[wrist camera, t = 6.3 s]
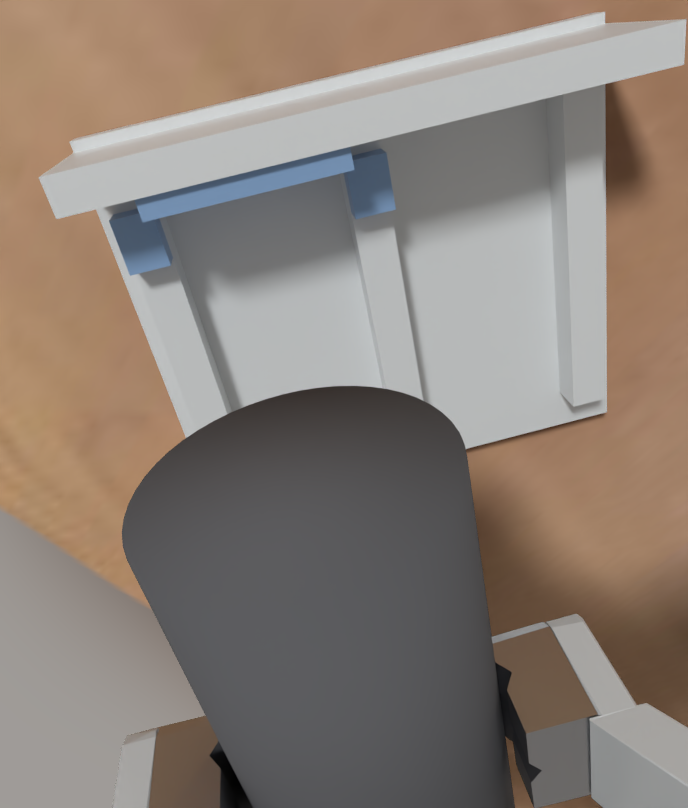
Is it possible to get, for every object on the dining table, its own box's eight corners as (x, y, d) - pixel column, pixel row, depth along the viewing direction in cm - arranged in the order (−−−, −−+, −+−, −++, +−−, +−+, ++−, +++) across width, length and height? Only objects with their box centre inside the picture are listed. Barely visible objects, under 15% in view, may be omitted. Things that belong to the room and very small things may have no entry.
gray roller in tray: (481, 734, 14) (562, 965, 10) (296, 782, 14) (317, 1031, 10) (418, 359, 9) (524, 547, 6) (145, 428, 9) (90, 660, 6)
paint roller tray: (597, 402, 27) (664, 468, 23) (216, 501, 26) (213, 587, 22) (591, 12, 20) (686, 5, 16) (75, 138, 20) (32, 164, 15)
